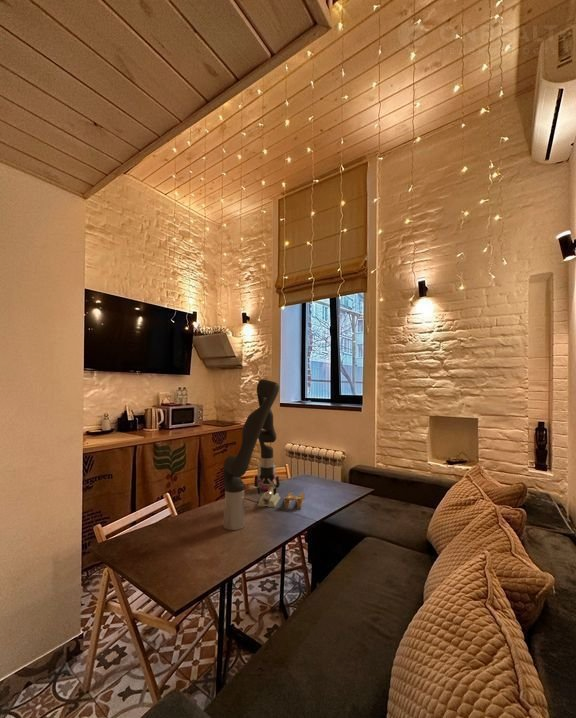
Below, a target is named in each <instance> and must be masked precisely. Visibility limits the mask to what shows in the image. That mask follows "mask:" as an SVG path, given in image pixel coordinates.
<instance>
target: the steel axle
mask: <svg viewBox="0 0 576 718" xmlns="http://www.w3.org/2000/svg"><path fill="white" fill-rule="evenodd" d="M273 489H274V488H273V487H270V488H269V489H268V491H265V492H266V493H265V492H264V493H265V495H264V494H263V495H264V496H263V495H262V496H263V500H264V501H265V502H268V501H269V500H270V498H271V497H272V495H273Z"/></svg>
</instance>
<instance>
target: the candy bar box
mask: <svg viewBox="0 0 576 718" xmlns="http://www.w3.org/2000/svg"><path fill="white" fill-rule="evenodd" d="M276 469H277V468H276V463H274V476H277V475H276V473H277V472H276ZM257 475H258V476H260V462H259V463H257ZM273 481H274V483H275V484H276V485H277V482H276V480H275V478H274V479H273ZM260 482H261V479H260V478H259V479H258V484H260ZM260 487H261V491H266V490H268V489H269V488H270V487H273V486H272V485H271V484H264V483H262V485H261V486H260Z"/></svg>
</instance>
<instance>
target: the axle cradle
mask: <svg viewBox="0 0 576 718" xmlns="http://www.w3.org/2000/svg"><path fill="white" fill-rule="evenodd" d="M266 492H267V491H265V492H264V493H263V495H262V496H261V497H260V498H259V501H258V503H257V507H265V506H268V507H267V508H269V507H270V508H276V506H277V505H278V503H279V501H280V499H281V496H280V494H279V493H278V492H276V494H275V495H272V497H271V498H270V500H269V501H268V502H265V501H264V500H263V496H264V495H265V493H266Z"/></svg>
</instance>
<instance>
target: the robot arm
mask: <svg viewBox="0 0 576 718" xmlns="http://www.w3.org/2000/svg"><path fill="white" fill-rule="evenodd" d="M279 384H280V383H278V382H276V381H272V380H269V379H264V378H263V379H260V380H259V381H258V382H257V386H256V396H257V400H258V408H256V409H254V410H253V411H252V412H251V413H250V414H248V416H247V418H246V420H245V423H244V425H243V427H242V430H241V443H240V444H241V445H240V448H239V450H238V453H237V455H236V454H235V455H233V454H231V455H229V456H227V457H226V458H225V460H224V463H223V467H222V470H223V471H222V472H223V475H222V476H223V484H224V487H225V488H224V489H225V490H224V491H225V496H224V502H225V503H224V505H225V506H223V529H226V530H228V531H229V530H230V531H237V530H238V531H239V530H240V529H243V528H244V527H245V483H244V481H243V480H242V477H243V476H244V475H245V474H246V472H247V470H248V468H249V466H250V461H251V457H252V455H253V452H254V449H255V447H256V445H257V442H259V445H260V446H259V447H260V462H259V463H260V476H258V474H256V475H255V476H254V484H253V485H254V487H257V493H258V495H259V496H260V495H261V493H262V490H261V487H260V486H261V485H262V483H264V484H271V485H272V486H273V488H274V489H273V495H275V494H276V493H277V488H280V485H281V484H280V476H279V475H276V476H274V464H275V463H274V448H273V447H272V446H269V445H266V443H271V444H272V443H275V441H276V440H277V433H276V429H275V427H274V413H273V411H272V409H271V408H272V407H273V404H274V403H275V400H276V398H277V396H278V394H279V390H280V385H279ZM259 478H260V479H261V482H260V484H258V479H259ZM274 478H275V480H276V484H275V483H274V481H273V479H274Z"/></svg>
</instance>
